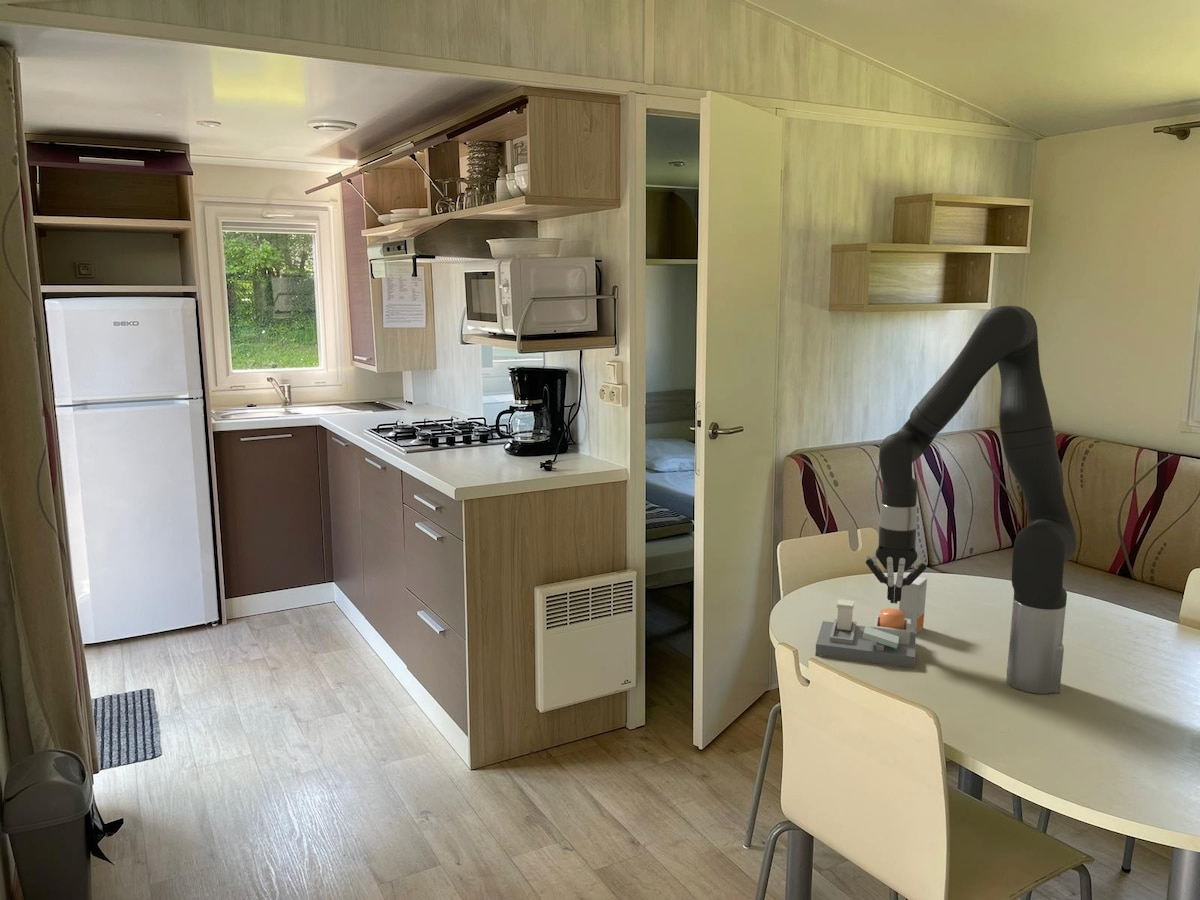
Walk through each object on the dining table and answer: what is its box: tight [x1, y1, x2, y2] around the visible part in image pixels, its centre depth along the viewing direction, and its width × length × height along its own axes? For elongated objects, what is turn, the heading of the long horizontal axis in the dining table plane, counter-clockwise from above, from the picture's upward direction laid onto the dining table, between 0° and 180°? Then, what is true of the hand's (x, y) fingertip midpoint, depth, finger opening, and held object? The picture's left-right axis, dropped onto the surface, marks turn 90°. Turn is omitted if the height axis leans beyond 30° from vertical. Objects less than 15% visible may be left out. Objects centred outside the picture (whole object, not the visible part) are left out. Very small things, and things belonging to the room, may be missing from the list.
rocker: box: [863, 625, 899, 649], centre depth 189 cm, size 7×4×1 cm, turn 71°
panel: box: [815, 614, 917, 669], centre depth 194 cm, size 20×14×6 cm
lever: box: [836, 598, 855, 631], centre depth 198 cm, size 3×3×6 cm
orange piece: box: [880, 607, 905, 629], centre depth 194 cm, size 5×5×5 cm
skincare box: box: [898, 576, 928, 634], centre depth 204 cm, size 6×4×12 cm
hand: (894, 602), depth 193 cm, fingers closed
